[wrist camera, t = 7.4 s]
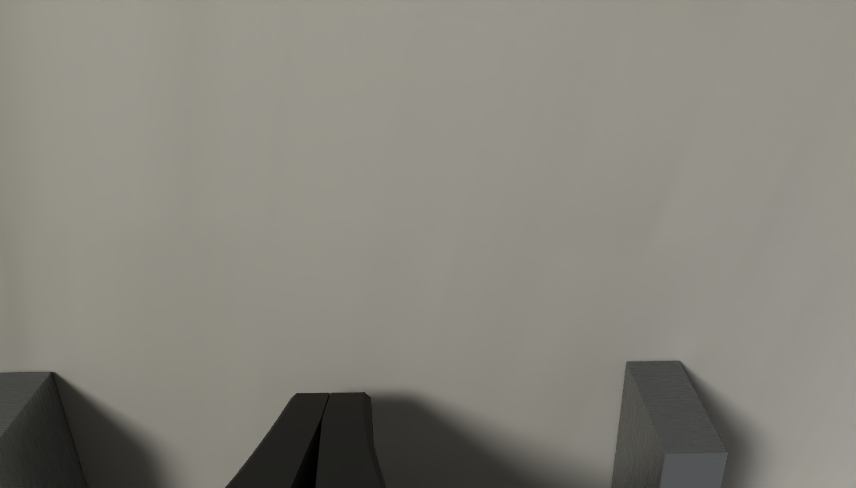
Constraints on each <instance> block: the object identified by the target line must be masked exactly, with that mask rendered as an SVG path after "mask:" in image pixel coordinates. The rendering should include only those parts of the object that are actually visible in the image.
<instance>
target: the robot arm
mask: <svg viewBox="0 0 856 488" xmlns="http://www.w3.org/2000/svg"><path fill="white" fill-rule="evenodd" d="M225 488H386V485H385V482H384V480H383V476H382V473H381V469H380V466H379V462H378V459H377V455H376V451H375V447H374V440H373V424H372V408H371V397H369V396H368V395H367V394H366V393H365V392H360V393H331V394H330V393H296V394H295V395H294V396H293V397H292V398H291V399H290V401H289V402H288V404H287V405H286V407H285V408H284V410H283V411H282V413H281V414H280V416H279V417H278V419H277V420H276V422H275V423H274V425H273V426H272V428H271V429H270V431H269V432H268V433H267V435H266V436H265V437H264V439H263V440H262V442H261V443H260V444H259V446H258V447H257V448H256V450H255V451H254V452H253V454H252V455H251V456H250V457H249V459H248V460H247V461H246V463H245V464H244V465H243V466H242V468H241V469H240V470H239V472H238V473H237V474H236V475H235V477H234V478H233V479H232V480H231V481H230V483H229V484H228V485H227V486H226V487H225Z"/></svg>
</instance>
